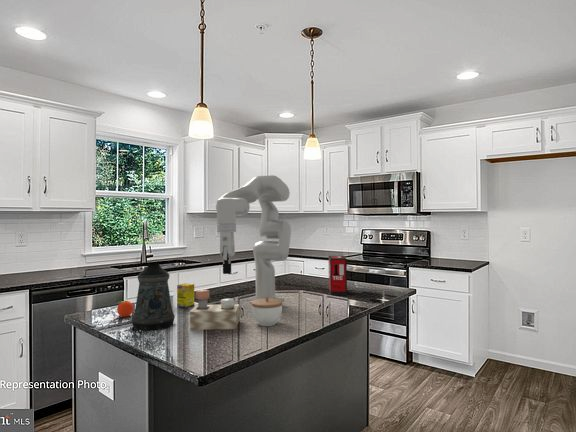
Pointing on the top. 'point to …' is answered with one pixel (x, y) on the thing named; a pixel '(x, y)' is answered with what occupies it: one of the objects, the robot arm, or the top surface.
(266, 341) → the top surface
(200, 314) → the button box
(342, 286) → the cleaning product box
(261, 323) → the lidded bowl
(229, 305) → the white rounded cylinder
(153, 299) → the beer stein
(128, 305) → the clementine
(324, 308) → the top surface
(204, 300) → the terracotta button
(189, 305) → the supplement box
